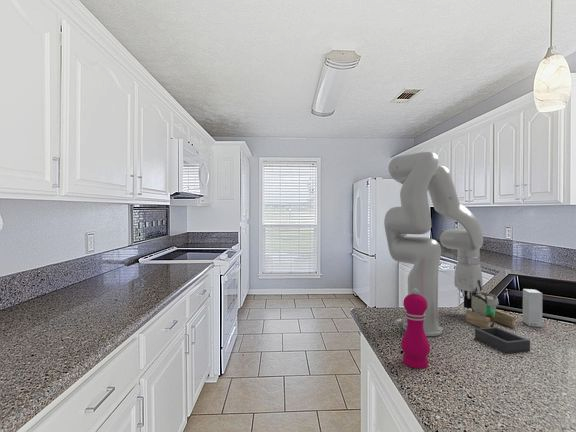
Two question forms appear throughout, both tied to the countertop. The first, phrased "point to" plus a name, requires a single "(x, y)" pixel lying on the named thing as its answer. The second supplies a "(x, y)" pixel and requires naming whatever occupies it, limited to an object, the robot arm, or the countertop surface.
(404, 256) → the robot arm
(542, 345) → the countertop surface
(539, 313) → the skincare box
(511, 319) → the wooden channel
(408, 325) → the pepper mill
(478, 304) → the food container
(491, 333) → the tray
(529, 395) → the countertop surface
